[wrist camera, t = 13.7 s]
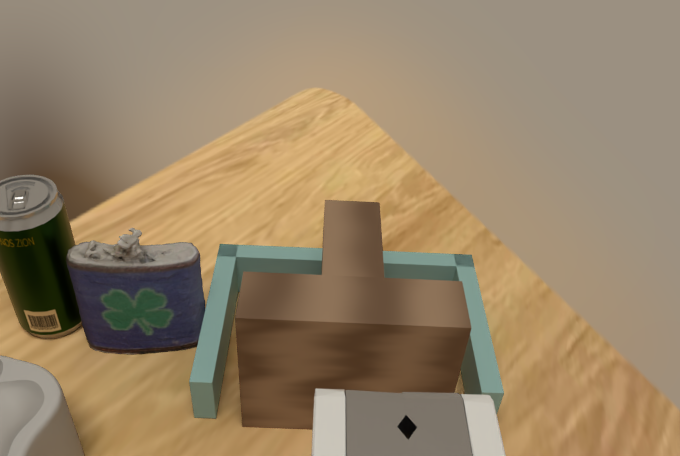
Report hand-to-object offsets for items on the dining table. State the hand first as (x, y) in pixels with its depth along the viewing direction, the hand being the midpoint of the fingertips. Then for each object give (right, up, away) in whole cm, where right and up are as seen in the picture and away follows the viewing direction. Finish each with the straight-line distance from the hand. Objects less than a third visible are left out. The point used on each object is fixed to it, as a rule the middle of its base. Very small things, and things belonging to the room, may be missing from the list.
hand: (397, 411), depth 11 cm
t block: (-1, -7, +39) cm, 39 cm away
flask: (-16, -6, +40) cm, 43 cm away
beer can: (-24, -4, +41) cm, 47 cm away
